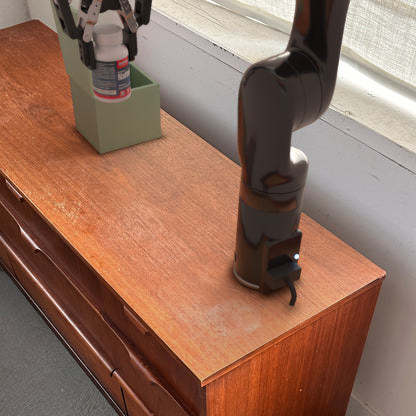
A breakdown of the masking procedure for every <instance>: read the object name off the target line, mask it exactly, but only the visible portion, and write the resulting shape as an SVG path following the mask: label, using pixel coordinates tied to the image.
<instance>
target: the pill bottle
mask: <svg viewBox="0 0 416 416" xmlns="http://www.w3.org/2000/svg"><path fill="white" fill-rule="evenodd" d="M122 29H123V28H122V26H121V25H118V24H114V23H101V24H100V23H99V24H95V25H94V30H93V34H92V38H91V39H92V41H93V45H94V54H95V63H96V69H95V70H92V79H93V90H94V96H95V97H96V98H97V99H98V100H100V101H102V102H106V103H118V102H122V101H125V100H127V99H128V98H129V97H130V95H131V85H130V71H129V56H128V49H127V47H126V46H125V45H124V44H123V43H122V41H123V34H122Z"/></svg>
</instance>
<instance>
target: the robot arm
mask: <svg viewBox="0 0 416 416" xmlns="http://www.w3.org/2000/svg"><path fill="white" fill-rule="evenodd" d="M52 1H53V4H54V7H55V10H56V13H57V16H58V19H59V22H60V25H61V28H62V31H63V32H64V33H65V34H66V35H67V36H69V37H70V38H71V39H73V40H75V39H78V45H79V53H80V60H81V62H82V63H83V64H84V65H85V66H86V67H87V68H88V69H89V70H95V69H96V63H95V54H94V45H93V44H94V41H93V38H92V34H93V30H94V26H96V25H97V23H98V22H99V21H98V20H99V17H100V14H104V13H106V12H108V11H112V12H113V11H114V12H116V14H117V15H118V17H119V20H120V22H121V25H122V26H123V28H122V34H123V41H122V42H121V43H123V44H124V45H125V46H126V47H127V49H128V56H129V62H131V61H132V62H134V61H135V60H136V57H137V56H138V52H139V51H138V31H139V28H140V27H143V25H144V26H147V25H149V24H150V21H151V14H152V6H153V0H134V6H133V7H132V5H131V1H130V0H79V2H78V7H77V11H78V20H77V25H75V21H74V18H73V15H72V12H71V9H70V6H69V4H70V5H71V3H72V2H73V0H52ZM351 2H352V0H295V4H294V13H293V20H292V23H291V24H292V25H291V30H290V33H289V38H288V41H287V44H286V47H285V48H284V50H283V52H279V53H277V54H275V55H272V56H269V57H266V58H264V59H261V60H258V61H256V62H253V63H252V64H250V65H249V66H248V67H247V68H246V69H245V70H244V72H243V74H242V76H241V79H240V82H239V86H238V92H237V108H236V109H237V114H236V115H237V119H236V121H237V122H236V125H237V127H236V149H237V154H238V159H239V163H240V178H239V191H238V204H237V205H238V206H237V216H236V217H237V219H236V231H235V234H236V235H235V244H234V252H233V256H234V259H233V261H232V262H233V264H232V266H233V267H232V273H233V276H234V278H235V279H236V280H237V282H239V283H240V284H241V285H242V286H245V287H246V288H248V289H252V290H255V291H258V292H260V293H261V294H262V295H266V294H268V293H270V292H273V291H276V290H279V289H281V288H283V287H285V286H287V288H288V291H289V294H290V300H289V302H288V306H289V307H294V306H295V305H296V302H297V299H298V293H297V290H296V287H295V285H294V283H295V282H296V281H299V280H300V279H301V274H302V269H303V268H302V266H300V265H299V264H298V263H299V257H300V252H301V246H302V241H303V231H302V230H301V229H300V223H301V217H302V210H303V205H304V204H303V203H304V198H305V192H306V186H307V180H308V176H309V175H308V174H309V168H310V167H309V165H310V162H309V159H308V157H307V155H306V153H304V151H302V150H301V149H299V148H298V147H296V146H294V145H292V136H293V133H295V132H296V131H299V130H301V129H303V128H305V127H308V126H309V125H311V124H314V123H315V122H317V121H318V120H320V119H321V118H322V117H323V116H325V113H326V112H327V111H328V110H329V109H330V106H331V104H332V101H333V97H334V95H335V90H336V85H337V79H338V74H339V68H340V61H341V56H342V55H341V54H342V49H343V43H344V42H343V41H344V35H345V31H346V24H347V18H348V14H349V11H350V6H351Z"/></svg>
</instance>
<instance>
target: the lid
mask: <svg viewBox="0 0 416 416" xmlns="http://www.w3.org/2000/svg"><path fill="white" fill-rule="evenodd" d="M49 1H50V7H51V10H52V11H51V12H52V15H53V19H54V20H53V21H54V24H55V28H56V33H57V38H58V42H59V46H60V51H61V56H62V59H63V64H64V68H65V69H64V70H65V73H66V75H67V76H68V77H69V76H70V77H71V78H72V79H73V80H74V81H75V82H76V83H77V84H78V85H79V86H80V87H81V88H82V89H83V90H84V91H86V92H87V93H88V94H89V95H90V96H91V97H92V98H94V97H95V96H94V90H93V79H92V73H91V70H89V69H88V68H87V67H86V66H85V65H84V64H83V63H82V62H81V60H80V53H79V45H78V39H75V40H73V39H71V38H70V37H69V36H67V35H66V34H65V33H64V32H63V31H62V28H61V25H60V22H59V19H58V16H57V13H56V10H55V7H54V4H53V1H52V0H49ZM69 6H70V9H71V12H72V15H73V18H74V21H75V25H77V20H78V9H76V8H75V7H74V6H72V4H71V3H70V4H69Z"/></svg>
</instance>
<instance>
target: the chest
mask: <svg viewBox="0 0 416 416" xmlns="http://www.w3.org/2000/svg"><path fill="white" fill-rule="evenodd" d="M129 71H130V85H131V95H130V97H129V98H128V99H127V100H125V101H122V102H118V103H106V102H102V101H100V100H98V99H97V98H96V97H94V98H92V97H91V96H90V95H89V94H88V93H87V92H86V91H84V90H83V89H82V88H81V87H80V86H79V85H78V84H77V83H76V82H75V81H74V80H73V79H72V78H71V77H70V76H69V75H68V79H69V87H70V94H71V101H72V102H71V103H72V107H73V108H72V109H73V117H74V124H75V129H76V130H77V132H79V133H80V134H81V136H83V137H84V139H85V140H86V141H87V142H88V143H89V144H90V145H91V146H92V147H93V148H94V149H95V150H96V151H97V152H98V153H99V154H100V155H102V154H107V153H110V152H113V151H117V150H121V149H123V148H128V147H131V146H134V145H137V144H141V143H145V142H149V141H153V140H156V139H160V138H162V123H161V122H162V120H161V119H162V117H161V116H162V113H161V84H160V83H159V82H158V81H156V79H154V78H153V77H152V76H151V75H149V74H148V73H147V72H145V71H144V70H143V68H140V67H139V66H138V65H137V64H135V62H134V61H131V62H129ZM91 73H92V70H91Z"/></svg>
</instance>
